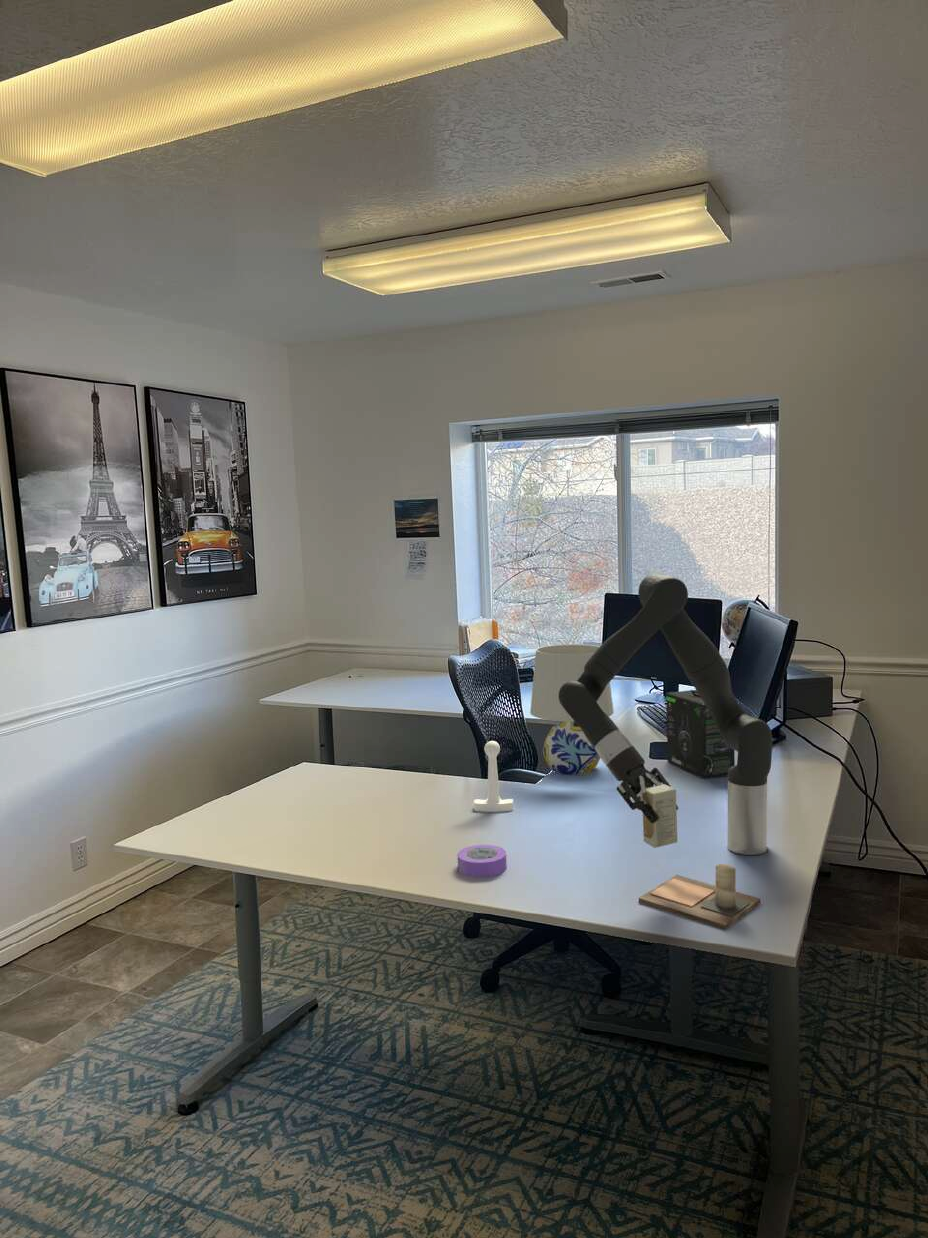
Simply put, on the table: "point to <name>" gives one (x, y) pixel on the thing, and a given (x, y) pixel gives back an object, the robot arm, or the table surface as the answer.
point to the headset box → (695, 737)
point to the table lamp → (565, 739)
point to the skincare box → (661, 816)
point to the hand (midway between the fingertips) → (665, 816)
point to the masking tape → (482, 861)
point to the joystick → (493, 785)
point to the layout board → (703, 898)
